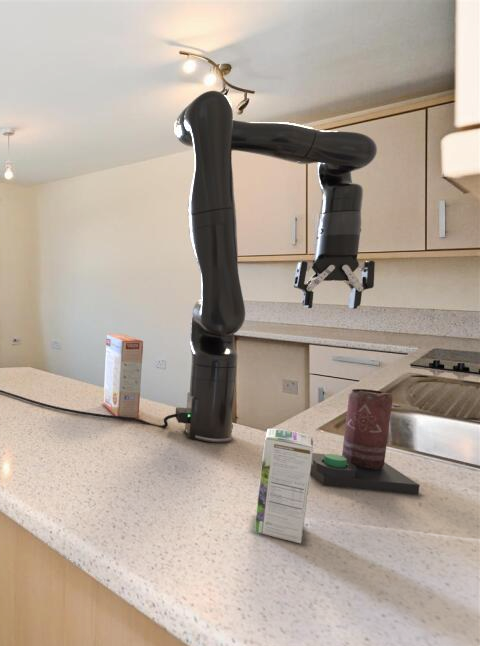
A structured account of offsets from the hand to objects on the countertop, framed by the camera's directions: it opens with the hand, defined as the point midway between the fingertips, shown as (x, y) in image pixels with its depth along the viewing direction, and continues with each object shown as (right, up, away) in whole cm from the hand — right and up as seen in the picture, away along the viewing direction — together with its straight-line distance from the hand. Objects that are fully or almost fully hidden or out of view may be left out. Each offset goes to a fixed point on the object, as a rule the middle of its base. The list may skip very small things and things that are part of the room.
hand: (330, 308), depth 104 cm
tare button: (-14, -30, -20) cm, 39 cm away
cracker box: (-39, -27, +25) cm, 54 cm away
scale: (-9, -33, -17) cm, 38 cm away
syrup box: (-35, -36, -35) cm, 61 cm away
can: (-6, -31, -16) cm, 35 cm away
